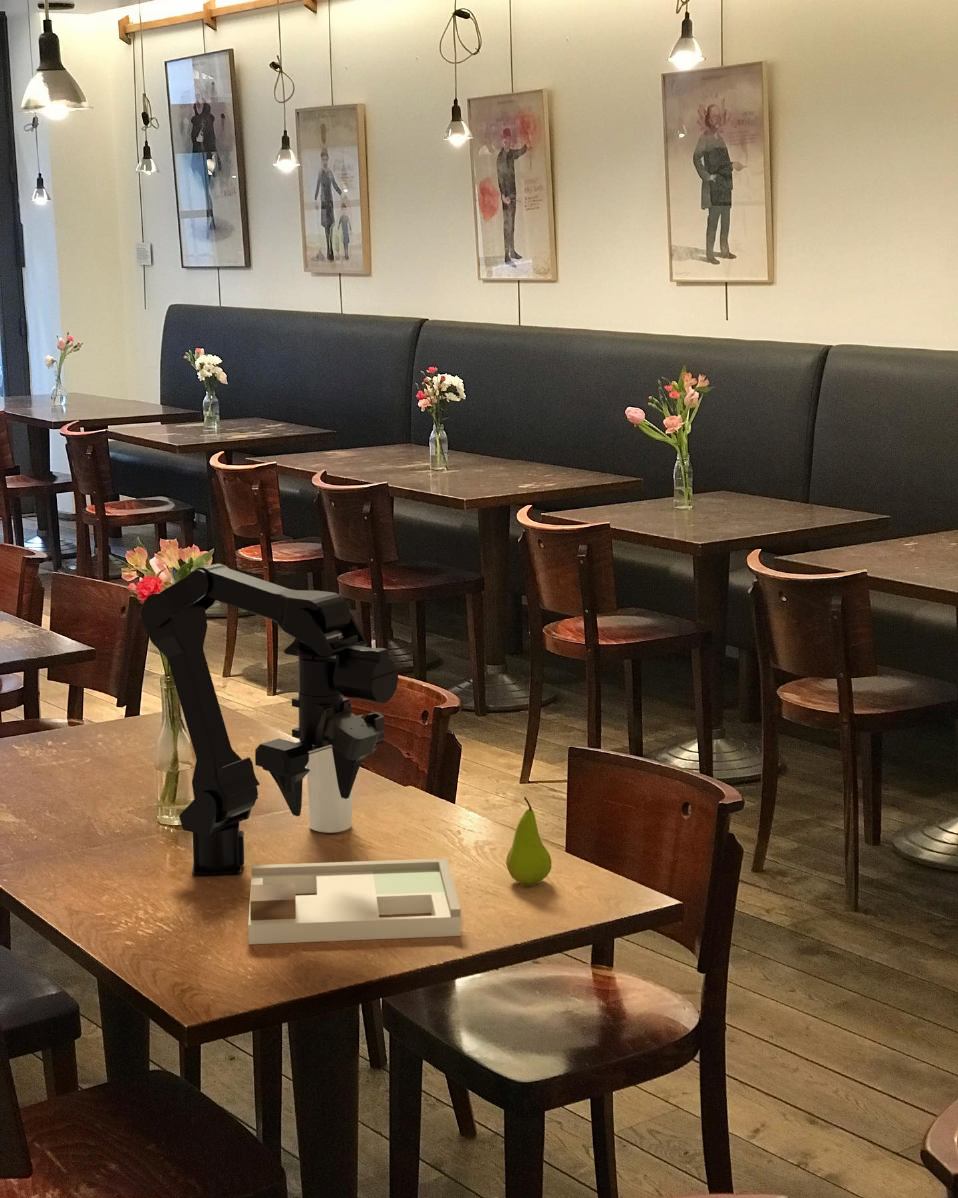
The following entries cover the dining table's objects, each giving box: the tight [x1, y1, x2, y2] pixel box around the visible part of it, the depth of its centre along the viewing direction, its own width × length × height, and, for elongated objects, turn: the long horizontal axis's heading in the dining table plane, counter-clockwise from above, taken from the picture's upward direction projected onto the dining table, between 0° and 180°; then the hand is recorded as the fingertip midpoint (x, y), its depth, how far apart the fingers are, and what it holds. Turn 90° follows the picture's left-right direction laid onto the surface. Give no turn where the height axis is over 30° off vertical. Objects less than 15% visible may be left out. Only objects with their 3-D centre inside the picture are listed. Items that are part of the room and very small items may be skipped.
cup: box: [305, 745, 354, 834], centre depth 236 cm, size 8×8×14 cm
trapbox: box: [247, 857, 462, 945], centre depth 205 cm, size 26×18×4 cm
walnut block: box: [249, 883, 297, 920], centre depth 199 cm, size 6×6×2 cm
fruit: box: [505, 796, 553, 887], centre depth 215 cm, size 6×6×12 cm
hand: (321, 806), depth 209 cm, fingers open, 9 cm apart
